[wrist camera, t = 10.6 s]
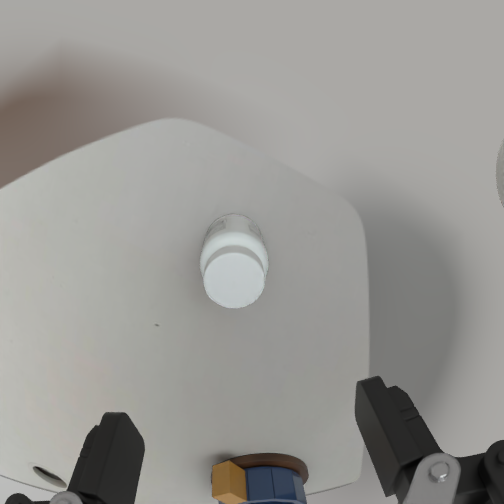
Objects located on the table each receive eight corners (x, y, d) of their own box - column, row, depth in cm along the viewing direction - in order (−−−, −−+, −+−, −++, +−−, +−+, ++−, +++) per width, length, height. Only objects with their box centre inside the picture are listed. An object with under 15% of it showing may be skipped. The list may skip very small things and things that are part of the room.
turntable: (305, 445, 34) (307, 452, 33) (308, 486, 39) (309, 492, 37) (200, 458, 34) (199, 465, 33) (223, 497, 38) (223, 503, 37)
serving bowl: (313, 483, 36) (320, 511, 31) (249, 504, 37) (251, 530, 32) (260, 446, 31) (263, 482, 26) (186, 470, 33) (183, 503, 28)
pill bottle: (203, 263, 25) (192, 312, 18) (208, 210, 23) (197, 239, 16) (257, 269, 25) (267, 319, 18) (265, 216, 24) (280, 249, 17)
